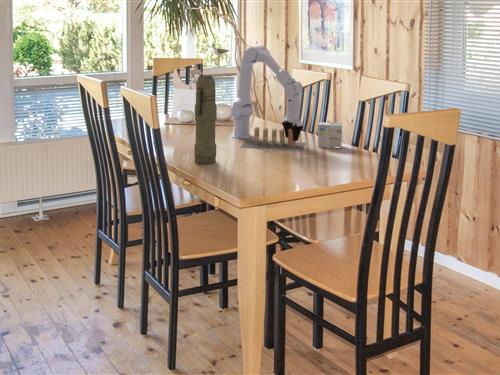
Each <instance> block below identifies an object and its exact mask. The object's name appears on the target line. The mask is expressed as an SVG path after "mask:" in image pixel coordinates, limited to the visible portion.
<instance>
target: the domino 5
mask: <svg viewBox="0 0 500 375" xmlns="http://www.w3.org/2000/svg"><path fill="white" fill-rule="evenodd" d="M287 142H288V145H290V146H296V142H297V141H293V135H292V129H288V138H287Z"/></svg>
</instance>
